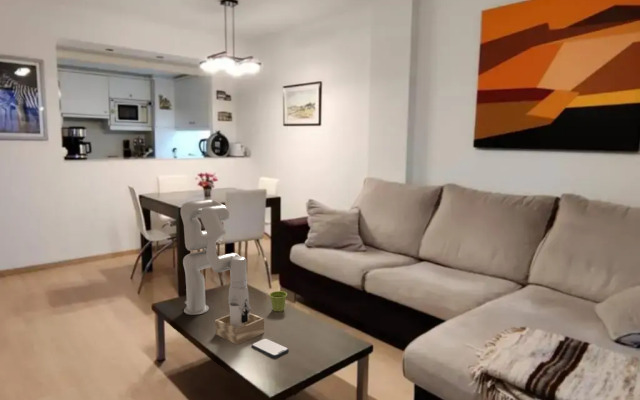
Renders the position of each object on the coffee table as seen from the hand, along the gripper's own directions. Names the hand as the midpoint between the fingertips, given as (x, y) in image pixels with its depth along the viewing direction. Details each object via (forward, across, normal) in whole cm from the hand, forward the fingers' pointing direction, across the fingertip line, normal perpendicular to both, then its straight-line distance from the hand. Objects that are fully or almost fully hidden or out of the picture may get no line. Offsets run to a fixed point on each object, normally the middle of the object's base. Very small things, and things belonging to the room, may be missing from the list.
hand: (239, 319), depth 198 cm
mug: (+4, 0, 0) cm, 4 cm away
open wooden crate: (+7, 0, 0) cm, 7 cm away
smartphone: (+7, +22, -1) cm, 23 cm away
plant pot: (+7, -7, +32) cm, 33 cm away
